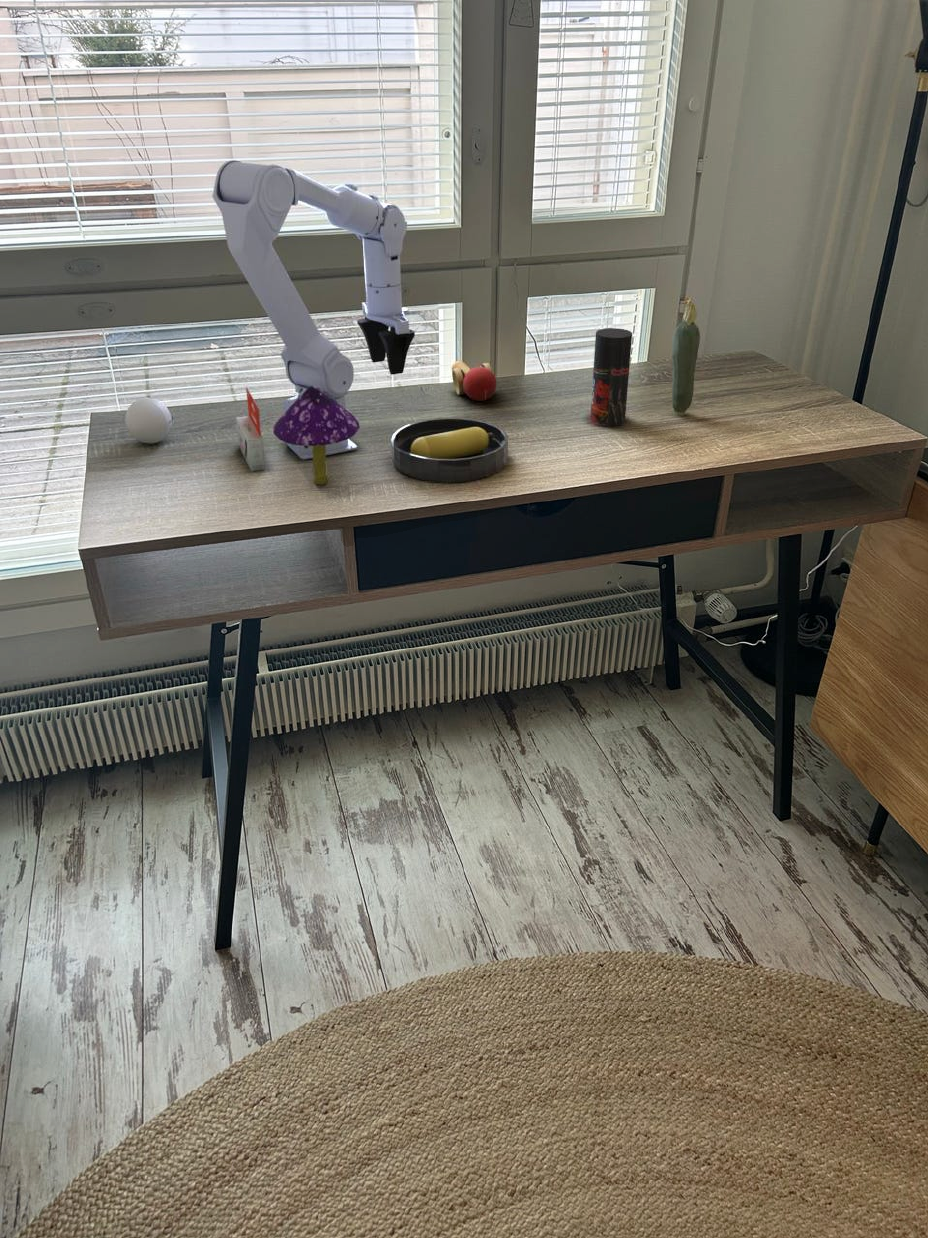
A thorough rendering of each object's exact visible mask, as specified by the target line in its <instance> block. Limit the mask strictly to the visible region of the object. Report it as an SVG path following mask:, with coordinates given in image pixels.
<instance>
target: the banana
mask: <svg viewBox="0 0 928 1238" xmlns="http://www.w3.org/2000/svg"><path fill="white" fill-rule="evenodd" d="M491 438H493V433H486V431H485V430H483V429H482V428H479V427H471V428H466V429H461V430H456V431H450V432H445V433H440V434H435V435H430V436H424V437H420V438H418V439H416V440H415V441H414V442H413V443H412V446H411V454H413V455H417V456H421V457H426V458H435V459H455V458H460V457H465V456H470V455H474V454H479V453H482V452H483V451H484V450H485V449H486V448H487V447H488V444H489V439H491Z"/></svg>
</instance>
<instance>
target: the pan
mask: <svg viewBox="0 0 928 1238" xmlns="http://www.w3.org/2000/svg"><path fill="white" fill-rule="evenodd" d="M471 427H479V428H482V429H483V430H485V431H486V433H493V438H491V439H489V444H488V447H487V448H486V449H485V450H484V451H483V452H482V453H479V454H474V455H470V456H465V457H460V458H455V459H435V458H426V457H421V456H417V455H413V454H411V446H412V443H413V442H414V441H415V440H416V439H418V438H420V437H424V436H430V435H435V434H440V433H445V432H450V431H456V430H461V429H466V428H471ZM390 443H391V460H392V464H393V466H394V468H396V469H397V470H398V471H399V472H401V473H403V474H404V475H407V476H409V477H411V478H413V479H417V480H420V481H425V482H427V481H428V482H432V483H446V484H447V483H465V482H472V481H477V480H481V479H483V478H487V477H490V476H492V475H494V474H496V473H497V472H499V471H501V470H502V469H504V467H505V466H506V465H507V463H508V459H509V458H508V454H509V453H508V452H509V435H508V434H507V432H506V431H505V430H504V429H502V428H501V427H500V426H498V425H495V424H493V423H491V422H489V421H484V420H479V419H474V418H465V417H464V418H463V417H437V418H429V419H424V420H419V421H415V422H412V423H409V424H406V425H404V426H402V427H400V428H398V429H397V430H396V431H395V432H394V433H393V434H392V437H391V440H390Z"/></svg>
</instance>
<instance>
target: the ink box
mask: <svg viewBox="0 0 928 1238" xmlns="http://www.w3.org/2000/svg"><path fill="white" fill-rule="evenodd" d="M245 390H246V391H245V392H246V400H247V408H248V409H247V411H248V415H245V416H243V415H242V416H236V417H235V420H236V428H237V436H238V444H239V449H240V451H241V453H242V455H243V457H244V459H245V461H246V464H247V466H248V468H249V469H250V472H256V471H257V472H258V471H262V470H265V469H266V460H265V454H264V453H265V452H264V444H263V437H262V429H261V419H260V417H261V416H260V409H259V406H258V405H257V403H256V401H255V400H254V397H253V396H252V393H251V392H250V390H249V388H248V387H246V388H245Z"/></svg>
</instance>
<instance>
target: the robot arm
mask: <svg viewBox="0 0 928 1238" xmlns="http://www.w3.org/2000/svg"><path fill="white" fill-rule="evenodd" d="M358 188H359V187H358V186H357V185H355V184H353V183H345V184H344V185H337V186H335V187H334V188H330V187H328V186H327V185H324V184H322V183H320V182H318V181H316V180H314V179H312V178H310V177H308V176H307V175H305V174H303V173H301V172H299V171H297V170H295V169H292V168H289V167H286V168H285V167H284V166H281V165H279V164H273V163H272V164H262V163H261V164H260V163H251V162H242V161H240V160H236V159H235V160H234V159H231V160H227V161H226V162H223V164H221V166H220V167H219V168H218V170H217V173H216V176H215V180H214V186H213V192H212V198H213V201H214V202H215V204H216V205H217V207H218V209H219V211H220V213H221V217H222V222H223V227H224V232H225V237H226V243H227V248H228V250H229V252H230V254H231V256H232V257H233V259H234V261H235V263H236V265H237V266H238V268H239V270H240V272H242V275H243V276H244V278H245V279H246V282H247V283H248V285H249V286H250V288H251V289H252V291H253V293H254V295H255V297H256V298H257V300H258V301H259V304H260V305H261V306H262V308H263V310H264V312H265V313H266V315H267V317H268V319H269V320H270V322H271V323H272V325H273V327H274V329H275V330H276V332H277V334H278V336H279V337H280V339H281V340H282V342H283V344H284V346H283V348H282V350H281V352H280V357H281V359H282V361H283V363H284V366H285V367H284V368H285V374H286V377H287V379H288V380H289V382H290V383H291V384H292V385H294V390H295V392H296V393H297V395H294V396H293V397H289V398H286V399H285V400H284V403H283V412H284V413H285V412H286V411H287V410H288V408H289V407H290V406H291V405H292V404H293V403H294V402H295V401H296V400H297V399H298V398H299V397H300V396H301V395H302V394H303V393H304V392H305V391H306V390H307V388H309V387H310V386H316V387H318V388H319V389H321V390H322V391H323V392H324V393H325V394H326V395H328V396H329V397H331V398H333V399H334V400H336V401H337V402H338V403H339V404H340V405H341V406H342V407H343V408H344V409H346V408H347V407H346V398H345V397H346V395H348V391H349V390H350V389H351V386H352V385H353V383H354V378H355V377H354V376H355V370H354V369H355V368H354V366H353V363H352V361H351V360H350V358H349V357H348V356H346V355H344V354H343V353H341V351H340V349H339V348H338V346H337V345H336V344H335V343H333V342H332V341H331V340H330V339H328V338H327V337H326V336H324V334H322V333H321V332H320V331H319V329H318V327H317V324H316V323H315V322H314V320H313V318H312V316H311V313H310V312H309V311H308V309H307V307H306V305H305V302H303V299H302V298H301V296H300V294H299V292H298V291H297V289H296V287H295V285H294V283H293V281H292V279H291V278H290V275H289V274H288V272H287V270H286V268H285V266H284V265H283V263H282V260H280V257H279V256H278V253H277V251H276V250H275V248H274V246H273V242H274V241H275V240H276V239H277V238H278V237H279V234H280V231H281V230H282V227H283V225H284V223H285V221H286V218H287V217H288V214H289V212H290V210H291V208H292V206H298V204H299V205H303V206H306V207H309V208H312V209H315V210H317V211H319V212H322V213H323V212H324V214H325V217H326V219H327V222H329V224H331V225H332V226H335V227H336V228H340V229H342V230H344V231H347V232H349V233H352V234H355V236H356V237H357V238H358V239H359V241H362V247H363V250H362V251H363V266H364V267H363V268H364V282H365V300H366V301H365V302H361V309H362V310H361V311H362V315H364V316H365V317H364V318H359V319H357V320H356V323H357V325H358V327H359V329H360V330H361V332H362V334H363V336H364V339H365V343H366V346H367V349H368V352H369V356H370V359H371V362H372V363H374V364H375V363H379V362H385V360H387V366H388V370H389V374H390V375H391V376H393V375H399V374H400V375H401V374H404V372H405V371H404V370H405V365H406V361H407V356H408V352H409V349H410V346H411V344H412V341H413V340H414V338H415V335H416V332H415V331H414V330H412V329H410V321H409V320H408V319H407V318H406V315H409V313H410V311H409V308H407V307H403V301H402V300H403V299H402V298H403V297H402V277H401V276H402V275H401V274H402V273H401V271H402V270H401V254H402V251H403V250H404V248H403V247H404V246H403V245H404V244H403V243H404V238H405V236H406V233H407V228H408V222H407V221H406V219H405V215H404V213H403V211H401V209H400V207H398V206H397V205H396V204H391V203H384V202H380V201H379V197H378V196H376V195H374V194H369V195H367V194H364V193H362V192H360V191H358ZM346 410H347V409H346ZM284 413H283V414H284ZM286 445H287V446H288V447H289V449H291V450H292V451H293V452H294V453H295V454H296V455H297V456H298V457H299V459H301V460H309V459H313V446H302V445H294V444H289V443H286ZM355 450H358V446H357V444H355V443H354V442H353V441H352V440H350V438H349V439H347V440H344V441H341V442H338V443H334V444H328V445H326V450H325V451H326V456H330V455H335V454H336V455H337V454H340V453H345V452H351V451H355Z"/></svg>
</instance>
